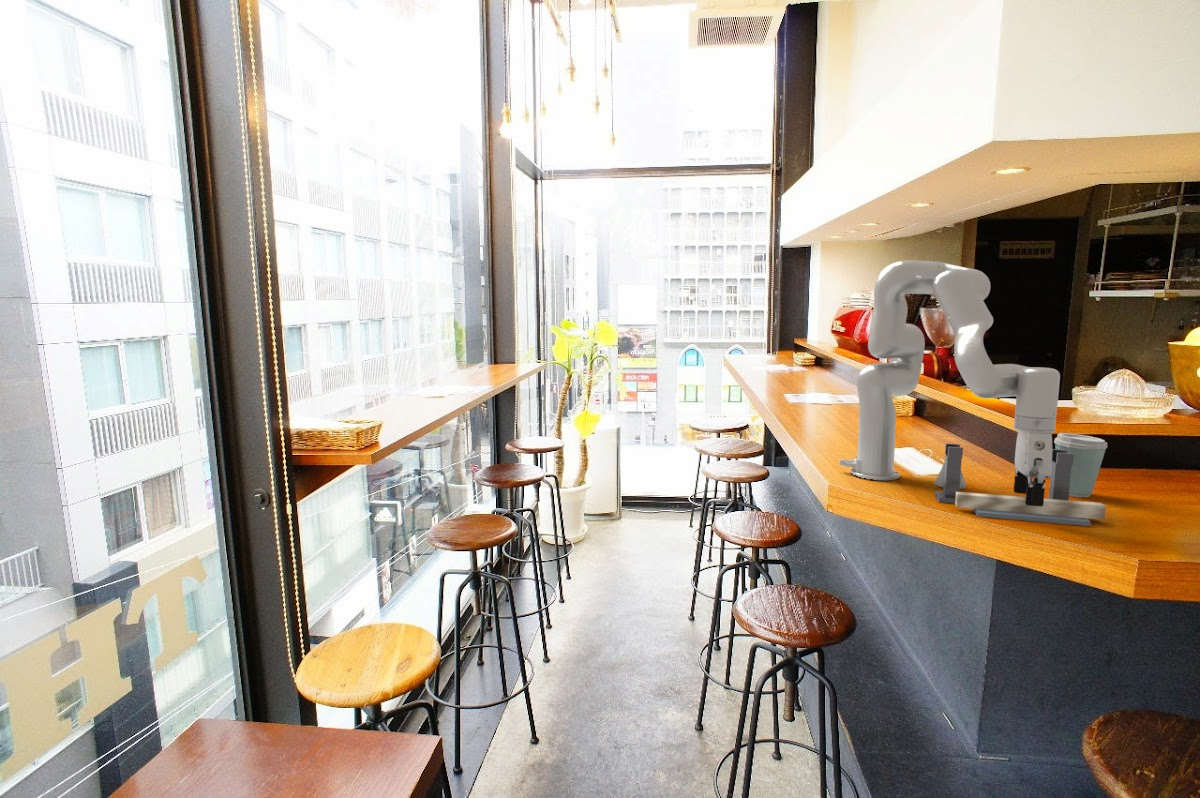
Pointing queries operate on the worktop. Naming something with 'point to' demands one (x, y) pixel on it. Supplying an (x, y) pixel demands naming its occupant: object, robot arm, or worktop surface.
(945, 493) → the grey holder stand
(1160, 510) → the worktop surface
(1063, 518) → the mat
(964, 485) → the flask
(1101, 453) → the disposable coffee cup
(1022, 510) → the rail
